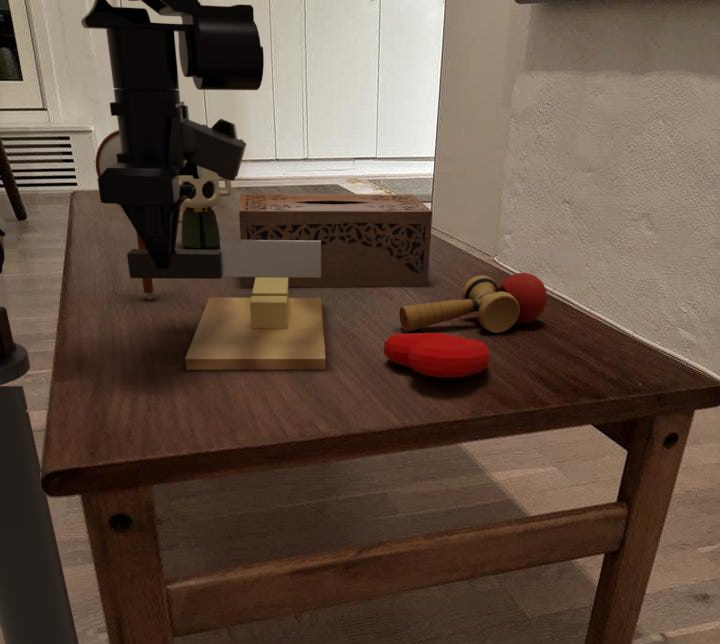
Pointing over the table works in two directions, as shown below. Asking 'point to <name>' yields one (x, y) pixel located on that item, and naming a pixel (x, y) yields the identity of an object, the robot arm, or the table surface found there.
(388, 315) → the table surface
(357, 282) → the tissue box cover
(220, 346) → the board
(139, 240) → the magnifying glass
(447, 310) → the kendama
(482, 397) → the table surface
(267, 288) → the butter block
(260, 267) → the knife
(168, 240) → the robot arm
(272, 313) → the butter slice
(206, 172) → the character mug
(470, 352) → the heart
